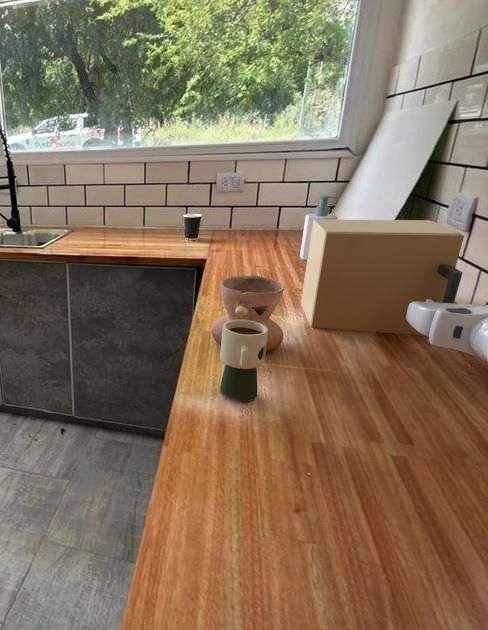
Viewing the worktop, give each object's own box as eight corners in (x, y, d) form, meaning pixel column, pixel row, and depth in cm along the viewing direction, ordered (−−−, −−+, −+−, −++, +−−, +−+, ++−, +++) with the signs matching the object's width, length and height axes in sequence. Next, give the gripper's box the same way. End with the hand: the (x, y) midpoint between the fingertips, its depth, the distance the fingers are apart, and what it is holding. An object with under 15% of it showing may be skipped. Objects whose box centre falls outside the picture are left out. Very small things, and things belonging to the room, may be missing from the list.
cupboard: (434, 335, 98) (461, 233, 90) (310, 326, 106) (325, 231, 98) (408, 310, 113) (430, 220, 104) (300, 303, 120) (313, 219, 112)
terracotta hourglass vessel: (273, 369, 87) (283, 300, 82) (200, 353, 95) (204, 289, 90) (288, 335, 101) (297, 275, 96) (223, 324, 109) (228, 268, 104)
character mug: (261, 414, 74) (271, 342, 69) (216, 408, 76) (222, 338, 71) (257, 382, 83) (265, 317, 78) (217, 377, 85) (223, 314, 81)
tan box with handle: (449, 349, 92) (480, 242, 84) (316, 338, 99) (333, 239, 91) (434, 335, 98) (462, 234, 90) (310, 325, 106) (325, 232, 98)
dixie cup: (203, 240, 197) (205, 215, 193) (187, 242, 196) (188, 217, 192) (195, 237, 204) (196, 213, 200) (179, 239, 203) (180, 214, 199)
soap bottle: (331, 262, 156) (343, 197, 148) (302, 261, 158) (312, 197, 151) (326, 255, 165) (336, 194, 157) (298, 254, 167) (307, 194, 160)
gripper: (587, 319, 69) (533, 291, 81) (429, 310, 75) (401, 285, 88) (572, 356, 71) (522, 323, 84) (420, 344, 78) (394, 315, 90)
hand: (459, 304), depth 86 cm, fingers open, 8 cm apart
